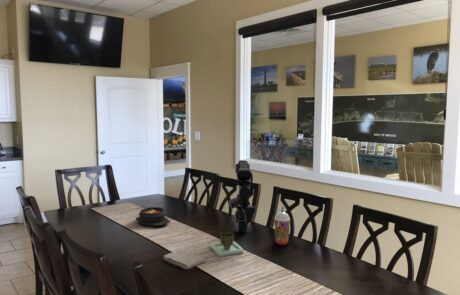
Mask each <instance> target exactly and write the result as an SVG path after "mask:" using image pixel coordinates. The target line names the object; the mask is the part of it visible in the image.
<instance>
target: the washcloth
mask: <svg viewBox="0 0 460 295" xmlns="http://www.w3.org/2000/svg"><path fill="white" fill-rule="evenodd" d="M162 258H163V260H164V261H166V262H168V263H170V264H173V265H175V266H176V267H177V266H178V267H180V268H182V269H184V270H190V269H192V268H194V267H196V266H198V265H200V264H204V263H205V261H206V260H205V258H204V257H202V256H200V255H198V254H195V253H192V252H190V251H187V250H185V249H181V248H180V249H177V250H176V251H174V252H173V251H172V252H170V253H167V254H164V255H163V257H162Z"/></svg>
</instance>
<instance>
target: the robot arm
mask: <svg viewBox="0 0 460 295" xmlns="http://www.w3.org/2000/svg"><path fill="white" fill-rule="evenodd" d="M234 172H235V174H236V184H237V185H238V194H236V197H233V198H231V199H229V200H228V201H227V203H228V206H229V207H230V208H231V209H235V208H236V212H235V214H234V215H235V216H234V217H235V223H237V229H235V231H236V232H237V233H238V234H240V235H241V234H249V233H250V230H248V224H249V223H250V222H252V217H253V216H254V214H255V213H257V208H256V207H255V206H254V205H252V204H251V202H250V198H251V197H252V195H251V192H252V191H251V187H250V185H252V184H253V180H254V178H253V177H254V176H253V172H252V171H251V169H250V163H248V161H247V160H243V159H242V160H239V161H238V162H237V163H236V164H235V170H234Z"/></svg>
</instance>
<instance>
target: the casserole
mask: <svg viewBox="0 0 460 295" xmlns="http://www.w3.org/2000/svg"><path fill="white" fill-rule="evenodd" d="M166 214H167V211H166V210H165V209H164V208H163V207H155V206H153V207H152V206H151V207H145V208H142V209H141V210H140V211H139V213H138V217H136V218H135V220H136V222H137V223H138V224H140V225H145V226H148V227H149V226H151V227H152V226H155V227H156V226H157V227H159V226H163V225H164V226H165V225H167V224H169V223H171V221H170V219H168V218H167V217H166Z"/></svg>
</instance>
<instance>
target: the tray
mask: <svg viewBox="0 0 460 295" xmlns="http://www.w3.org/2000/svg"><path fill="white" fill-rule="evenodd" d="M209 244H210V245H209V246H210V249H211V250H212V251H213V252H214V253H215V254H216V255H217V256H218V257H226V256H231V255H237V254H243V253H244V249H243V248H242V247H241V246H240V245H239V244H238V243H237V242H236V241H233V244H232V245H231V246H230V247H231V248H230V249H229V250H225V249H224V248H223V247H224V246H223V245H222V244H221V242H216V243H215V242H214V243H209Z"/></svg>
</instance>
